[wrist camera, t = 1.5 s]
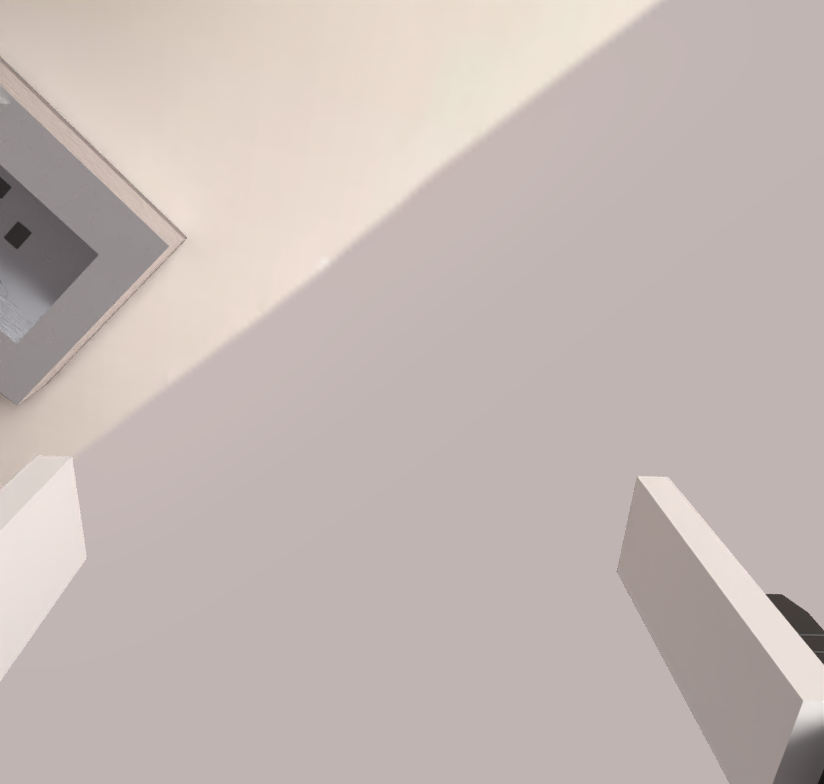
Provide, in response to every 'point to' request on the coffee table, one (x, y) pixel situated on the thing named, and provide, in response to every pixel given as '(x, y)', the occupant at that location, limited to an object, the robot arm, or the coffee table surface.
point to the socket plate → (63, 239)
